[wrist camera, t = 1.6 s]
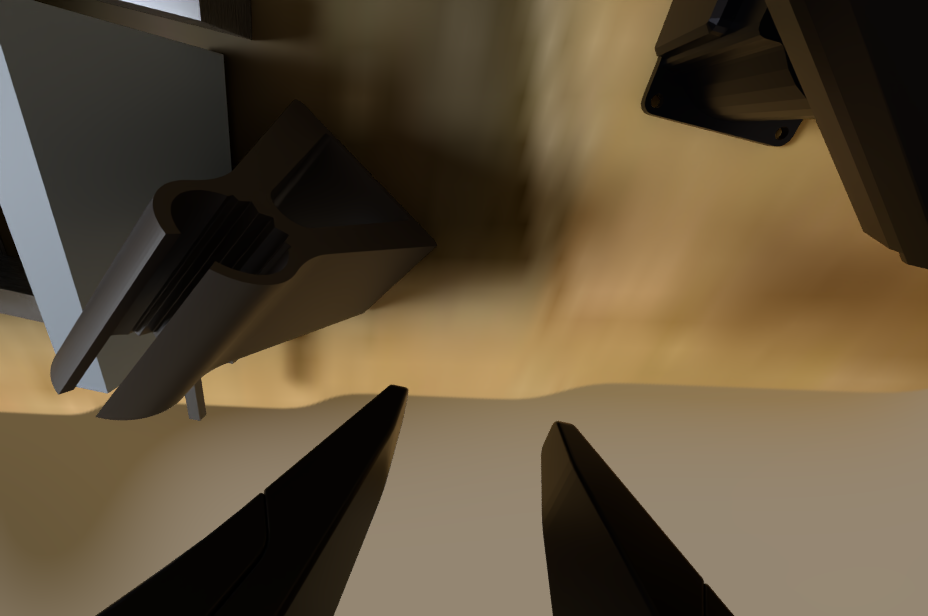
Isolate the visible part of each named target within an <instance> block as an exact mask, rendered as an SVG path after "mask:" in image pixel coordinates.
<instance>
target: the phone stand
mask: <svg viewBox="0 0 928 616" xmlns="http://www.w3.org/2000/svg"><path fill="white" fill-rule="evenodd" d="M436 246H437V244H436V242H435V241H434V239H433V238H432V237H431V236H430V235H429V234H428V233H427V232H426V231H425V230H424V229H423V228H422V227H421V226H420V225H419V224H418V223H417V222H416V221H415V220H414V218H413V217H412V216H411V215H410V214H409V213H408V212H407V211H406V210H405V209H404V208H403V207H402V206H401V205H400V204H399V203H398V202H397V201H396V200H395V199H394V198H393V197H392V196H391V195H390V194H389V192H388V191H387V190H386V189H385V188H384V187H383V186H382V185H381V184H380V183H379V182H378V181H377V180H375V179H374V178H373V177H372V176H371V174H370V173H369V172H368V171H367V170H366V169H365V168H364V166H363V165H362V164H361V163H360V162H359V161H358V160H357V159H356V158H355V157H354V156H353V155H352V154H351V153H350V152H349V151H348V150H347V149H346V148H345V147H344V146H343V145H342V144H341V143H340V142H339V140H338V139H337V138H336V137H335V136H334V135H333V134H332V133H331V132H330V131H329V130H328V129H327V128H326V127H325V126H324V125H323V124H322V123H321V122H320V121H319V120H318V119H317V118H316V117H315V116H314V114H313V113H312V112H311V111H310V110H309V109H308V108H307V107H306V106H305V105H304V104H303V103H301V102H300V101H298V100H296V99H295V100H294V101H293V102H292V103H291V104H290V105H289V106H288V108H287V109H286V110H285V111H284V112H283V113H282V115H281V116H280V117H279V118H278V119H277V120H276V121H275V123H274V124H273V125H272V126H271V127H270V128H269V129H268V131H267V132H266V133H265V134H264V135H263V136H262V137H261V139H260V140H259V141H258V142H257V143H256V144H255V146H254V147H253V148H252V149H251V150H250V151H249V152H248V154H247V155H246V156H245V157H244V158H243V159H242V160H241V162H240V163H239V164H238V165H237V166H236V167H235V169H233V170H232V171H231V172H230V173H228V174H226V175H224V176H222V177H219V178H214V179H208V180H177V181H172V182H169V183H166V184H164V185H163V186H161V187H160V188H159V189H158V190H157V191H156V193H155V194H154V196H153V198H152V199H151V201H150V202H149V204H148V206H147V207H146V209H145V211H144V212H143V214H142V215H141V217H140V219H139V220H138V222H137V224H136V225H135V227H134V228H133V230H132V232H131V233H130V235H129V237H128V238H127V240H126V242H125V243H124V245H123V246H122V248H121V250H120V251H119V253H118V255H117V256H116V258H115V259H114V261H113V263H112V264H111V266H110V268H109V269H108V271H107V273H106V274H105V276H104V277H103V279H102V281H101V282H100V284H99V286H98V287H97V289H96V290H95V292H94V294H93V295H92V297H91V299H90V300H89V302H88V303H87V305H86V307H85V308H84V310H83V312H82V313H81V315H80V317H79V318H78V320H77V321H76V323H75V325H74V326H73V328H72V330H71V331H70V333H69V334H68V336H67V338H66V339H65V341H64V343H63V344H62V346H61V347H60V349H59V351H58V352H57V354H56V356H55V357H54V359H53V362H52V365H51V381H52V384H53V386H54V388H55V390H56V392H57V393H58V395H59V394H62V393H65V392H68V391H71V390H74V388H75V387H76V386H77V384H78V383H79V381H80V380H81V378H82V377H83V375H84V374H85V372H86V371H87V370H88V368H89V367H90V365H91V364H92V362H93V361H94V359H95V358H96V356H97V355H98V354H99V352H100V351H101V349H102V348H103V346H104V345H105V343H106V342H107V341H108V339H109V338H110V336H112V335H129V334H130V333H132V332H135V333H136V334H137V335H138V336H141V335H144V334H148V333H151V332H153V333H154V335H155V337H156V339H155V340H154V341H153V343H152V344H151V345H150V346H149V348H148V349H147V350H146V352H145V353H144V354H143V356H142V357H141V358H140V359H139V361H138V362H137V363H136V365H135V366H134V367H133V369H132V370H131V371H130V372H129V374H128V375H127V376H126V378H125V379H124V380H123V381H122V383H121V384H120V385H119V387H118V388H117V389H116V391H115V392H114V393H113V394H112V396H111V397H110V398H109V400H108V401H107V402H106V404H105V405H104V406H103V407H102V409H101V410H100V411H99V413H98V414H97V415H96V417H98V418H104V419H110V420H135V419H142V418H146V417H150V416H153V415H156V414H159V413H161V412H164V411H166V410H167V409H169V408H171V407H172V406H174V405H175V404H176V403H178V402H179V401H180V400H181V399H182V398H183V397H184V396H185V395H186V393H187V392H188V391H189V390H190V389H191V388H192V387H193V386H194V385H195V384H196V383H197V381H198V380H199V379H200V378H201V377H203V376H204V375H205V374H207V373H208V372H210V371H211V370H213V369H215V368H217V367H219V366H221V365H223V364H226V363H229V362H231V361H234V360H237V359H240V358H242V357H245V356H248V355H250V354H253V353H256V352H259V351H261V350H264V349H267V348H270V347H272V346H275V345H278V344H280V343H283V342H286V341H289V340H291V339H294V338H297V337H299V336H302V335H305V334H308V333H310V332H313V331H316V330H319V329H321V328H324V327H327V326H329V325H332V324H335V323H338V322H340V321H343V320H346V319H349V318H351V317H354V316H357V315H359V314H362V313H364V312H365V311H366V310H367V309H368V308H369V307H371V306H372V305H373V304H374V303H375V302H376V301H377V300H378V299H379V298H380V297H381V296H382V295H384V294H385V293H386V292H387V291H388V290H389V289H390V288H391V287H392V286H393V285H394V284H396V283H397V282H398V281H399V280H400V279H401V278H402V277H403V276H404V275H405V274H406V273H408V272H409V271H410V270H411V269H412V268H413V267H414V266H415V265H416V264H417V263H418V262H419V261H421V260H422V259H423V258H424V257H425V256H426V255H427V254H428V253H429V252H430V251H431V250H433V249H434V248H435V247H436Z"/></svg>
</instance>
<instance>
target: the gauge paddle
mask: <svg viewBox="0 0 928 616" xmlns="http://www.w3.org/2000/svg"><path fill="white" fill-rule="evenodd" d="M231 171H232V167H231V153H230V140H229V126H228V112H227V99H226V85H225V71H224V58H223V54H220V53H217V52H213V51H210V50H206V49H203V48H199V47H196V46H192V45H189V44H185V43H181V42H178V41H174V40H171V39H167V38H164V37H160V36H157V35H153V34H150V33H146V32H143V31H139V30H136V29H132V28H129V27H125V26H122V25H118V24H115V23H111V22H108V21H104V20H101V19H97V18H93V17H90V16H86V15H83V14H79V13H76V12H72V11H69V10H65V9H62V8H58V7H55V6H51V5H48V4H44V3H41V2H37V1H34V0H0V205H1V208H2V210H3V213H4V216H5V219H6V221H7V224H8V227H9V229H10V232H11V235H12V237H13V240H14V243H15V245H16V248H17V251H18V254H19V256H20V259H21V262H22V264H23V267H24V270H25V272H26V275H27V278H28V281H29V283H30V286H31V289H32V291H33V294H34V297H35V299H36V302H37V305H38V308H39V310H40V313H41V316H42V318H43V321H44V324H45V326H46V329H47V332H48V335H49V337H50V340H51V343H52V345H53V348H54V351H55V353H56V354H57V352H58V351H59V349H60V347H61V346H62V344H63V343H64V341H65V339H66V338H67V336H68V334H69V333H70V331H71V330H72V328H73V326H74V325H75V323H76V321H77V320H78V318H79V317H80V315H81V313H82V312H83V310H84V308H85V307H86V305H87V303H88V302H89V300H90V299H91V297H92V295H93V294H94V292H95V290H96V289H97V287H98V286H99V284H100V282H101V281H102V279H103V277H104V276H105V274H106V273H107V271H108V269H109V268H110V266H111V264H112V263H113V261H114V259H115V258H116V256H117V255H118V253H119V251H120V250H121V248H122V246H123V245H124V243H125V242H126V240H127V238H128V237H129V235H130V233H131V232H132V230H133V228H134V227H135V225H136V224H137V222H138V220H139V219H140V217H141V215H142V214H143V212H144V211H145V209H146V207H147V206H148V204H149V202H150V201H151V199H152V198H153V196H154V194H155V193H156V191H157V190H158V189H159V188H160V187H161V186H163V185H164V184H166V183H169V182H172V181H177V180H208V179H214V178H219V177H222V176H224V175H226V174H228V173H230V172H231ZM155 339H156V337H155V335H154V333H153V332H151V333H148V334H144V335H141V336H138V335H137V334H136V333H135V332H132V333H130V334H129V335H112V336H110V338H109V339H108V341H107V342H106V343H105V345H104V346H103V348H102V349H101V351H100V352H99V354H98V355H97V356H96V358H95V359H94V361H93V362H92V364H91V365H90V367H89V368H88V370H87V371H86V372H85V374H84V375H83V377H82V378H81V380H80V381H79V383H78V384H77V386H76V387H80V388H84V389H89V390H94V391H99V392H103V393H109V392H111V391H112V390H114V389H115V388H117V387H118V386H119V385H120V384H121V383H122V381H123V380H124V379H125V378H126V376H127V375H128V374H129V372H130V371H131V370H132V369H133V367H134V366H135V365H136V363H137V362H138V361H139V359H140V358H141V357H142V356H143V354H144V353H145V352H146V350H147V349H148V348H149V346H150V345H151V344H152V343H153V341H154V340H155ZM185 398H186V403H187V408H188V414H189V419H194V420H198V421H200V420H201V419H202V418H203V417H204V416H205V415H206V409H205V402H204V395H203V388H202V382H201V378H200V379H199V380H198V381H197V383H196V384H195V385H194V386H193V387H192V388H191V389H190V390H189V391H188V392H187V393H186V395H185Z"/></svg>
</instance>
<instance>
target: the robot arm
mask: <svg viewBox="0 0 928 616" xmlns="http://www.w3.org/2000/svg"><path fill="white" fill-rule="evenodd" d="M655 51H656V55H657V56H659V57H658V59H657V62H656V65H655V67H654V70H653V72H652V75H651V77H650V80H649V82H648V85H647V87H646V90H645V93H644V95H643V98H642V101H641V108H642V110H643V112H644V113H646V114H648V115H651V116H655V117H659V118H663V119H667V120H670V121H674V122H678V123H682V124H686V125H690V126H694V127H697V128H701V129H705V130H709V131H713V132H717V133H721V134H724V135H728V136H732V137H736V138H740V139H744V140H748V141H752V142H755V143H759V144H763V145H767V146H782V145H784V144H786V143H787V142H789V141H790V140H791V138H792V137H793V136H794V134H795V132H796V130H797V129H798V127H799V125H800V124H801V122H802V120H803V119H816V122H817V124H818V126H819V129H820V131H821V133H822V136H823V138H824V140H825V143H826V145H827V147H828V150H829V152H830V154H831V157H832V159H833V161H834V164H835V166H836V169H837V171H838V173H839V176H840V178H841V180H842V183H843V185H844V187H845V190H846V192H847V194H848V197H849V199H850V201H851V204H852V206H853V208H854V211H855V213H856V215H857V218H858V220H859V222H860V225H861V227H862V229H863V232H865V233H866V234H868V235H870V236H871V237H873V238H874V239H876V240H877V241H879V242H880V243H882V244H883V245H885V246H886V247H888V248H889V249H892V250H895V251H897V252H899V254H900V257H901V259H902V261H903V262H905V263H906V264H908V265H913V266H917V267H921V268H926V269H928V0H673V2H672V4H671V7H670V9H669V12H668V15H667V17H666V20H665V22H664V25H663V28H662V30H661V33H660V35H659V38H658V41H657V43H656V46H655ZM654 95H657V96H659V99H660V101H659V104H658V106H657V107H655V108H654V107H652V105H651V99H652V98H653V96H654ZM779 128H781V130H782V132H781V135H780V136H779V137H778V138H777V139H776V138H775V134H776V131H777V130H778V129H779ZM407 397H408V389H407V388H406V387H401V386H397V385H390V386H388V387H387V388H386V389H385V390H383V391H382V392H381V393H380V394H379V395H377V396H376V397H375V398H374V399H373V400H372V401H370V402H369V403H368V404H367V405H365V406H364V407H363V408H362V409H361V410H359V412H357V413H356V414H355V415H354V416H352V417H351V418H350V419H349V420H347V421H346V422H345V423H344V424H343V425H342V426H340V427H339V428H338V429H337V430H335V431H334V432H333V433H332V434H331V435H329V436H328V437H327V438H326V439H325V440H323V441H322V442H321V443H320V444H319V445H318V446H316V447H315V448H314V449H313V450H312V451H310V452H309V453H308V454H307V455H306V456H304V457H303V458H302V459H301V460H299V461H298V462H297V463H296V464H295V465H293V466H292V467H291V468H290V469H289V470H287V471H286V472H285V473H284V474H283V475H281V476H280V477H279V478H278V479H277V480H276V481H274V482H273V483H272V484H271V485H270V486H268V487H267V488H266V489H265V490H264V494H263V493H260V494H259V495H257V496H256V497H255V498H254V499H252V500H251V501H250V502H249V503H248V504H247V505H245V506H244V507H243V508H242V509H241V510H239V511H238V512H237V513H236V514H234V515H233V516H232V517H230V518H229V519H228V520H227V521H226V522H224V523H223V524H222V525H221V526H219V527H218V528H217V529H216V530H214V531H213V532H212V533H210V534H209V535H208V536H207V537H205V538H204V539H203V540H201V541H200V542H198V543H197V544H196V545H194V546H193V547H192V548H190V549H189V550H187V551H186V552H185V553H183V554H182V555H181V556H179V557H178V558H176V559H175V560H174V561H172V562H171V563H170V564H168V565H167V566H165V567H164V568H163V569H161V570H160V571H158V572H157V573H155V574H154V575H153V576H151V577H150V578H149V579H147V580H146V581H144V582H143V583H141V584H140V585H138V586H137V587H136V588H134V589H133V590H131V591H130V592H128V593H127V594H126V595H124V596H123V597H121V598H120V599H119V600H117V601H116V602H114V603H113V604H111V605H110V606H109V607H107V608H106V609H104V610H103V611H101V612H100V613H99V614H97V615H96V616H334V613H335V611H336V608H337V606H338V604H339V601H340V598H341V596H342V594H343V591H344V589H345V586H346V583H347V581H348V579H349V576H350V574H351V571H352V568H353V566H354V564H355V561H356V558H357V556H358V553H359V551H360V549H361V546H362V544H363V541H364V539H365V536H366V534H367V531H368V529H369V526H370V524H371V521H372V519H373V516H374V514H375V511H376V509H377V506H378V504H379V501H380V498H381V496H382V493H383V490H384V487H385V484H386V480H387V477H388V473H389V469H390V466H391V462H392V459H393V455H394V451H395V448H396V444H397V440H398V436H399V433H400V429H401V426H402V422H403V417H404V413H405V407H406V402H407ZM541 476H542V477H541V479H542V480H541V483H542V525H543V537H544V545H545V554H546V561H547V570H548V579H549V587H550V595H551V604H552V611H553V616H734V615H733V614H732V613H731V612H730V610H729V609H728V608H727V607H726V605H725V604H724V603H723V602H722V601H721V600H720V598H719V597H718V596H717V595H716V594H715V592H714V591H713V590H712V589H711V588H710V586H709V585H708V584H704V581H703V578H702V577H701V576H700V575H699V574H698V572H697V571H696V570H695V569H694V568H693V566H692V565H691V564H690V563H689V562H688V560H687V559H686V558H685V557H684V556H683V555H682V553H681V552H680V551H679V550H678V549H677V547H676V546H675V545H674V544H673V542H672V541H671V540H670V539H669V538H668V536H667V535H666V534H665V533H664V532H663V531H662V530H661V528H660V527H659V526H658V525H657V523H656V522H655V521H654V520H653V519H652V517H651V516H650V515H649V514H648V513H647V512H646V510H645V509H644V508H643V507H642V505H640V503H639V502H638V501H637V500H636V498H635V497H634V496H633V495H632V494H631V492H630V491H629V490H628V489H627V488H626V486H625V485H624V484H623V483H622V482H621V480H620V479H619V478H618V477H617V476H616V474H615V473H614V472H613V471H612V470H611V468H610V467H609V466H608V465H607V464H606V463H605V461H604V460H603V459H602V458H601V457H600V455H599V454H598V453H597V452H596V451H595V449H593V447H592V446H591V445H590V443H589V442H588V441H587V440H586V439H585V437H584V436H583V435H582V434H581V433H580V432H579V430H578V429H577V428H576V427H575V426H574V425H572V424H570V423H565V422H561V421H556V422H554V423H553V425H552V427H551V429H550V431H549V433H548V436H547V438H546V440H545V442H544V444H543V447H542V453H541Z"/></svg>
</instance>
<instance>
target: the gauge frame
mask: <svg viewBox="0 0 928 616" xmlns="http://www.w3.org/2000/svg"><path fill="white" fill-rule="evenodd" d="M97 1H101V2H105V3H109V4H113V5H117V6H121V7H125V8H128V9H132V10H136V11H140V12H144V13H148V14H152V15H156V16H160V17H164V18H168V19H171V20H175V21H179V22H183V23H187V24H191V25H195V26H199V27H203V28H207V29H211V30H214V31H218V32H222V33H226V34H230V35H234V36H238V37H242V38H246V39H250V40H252V31H251V7H250V0H97ZM0 313H3V314H7V315H12V316H16V317H21V318H25V319H30V320H35V321H39V322H44V321H43V318H42V316H41V313H40V310H39V308H38V305H37V302H36V299H35V297H34V294H33V291H32V289H31V286H30V283H29V281H28V278H27V275H26V272H25V270H24V267H23V264H22V262H21V259H20V258H15V257H11V256H7V254H6V252H5V249H4V247H3V244H2V241H1V239H0ZM237 360H238V359H237ZM237 360H234V361H231V362H229V363H231V364H233V363H234V362H236V361H237Z"/></svg>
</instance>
